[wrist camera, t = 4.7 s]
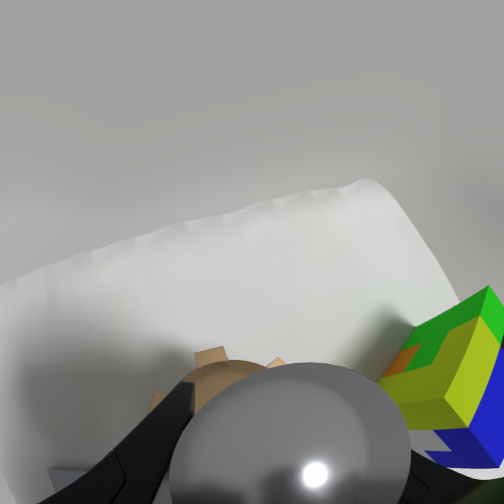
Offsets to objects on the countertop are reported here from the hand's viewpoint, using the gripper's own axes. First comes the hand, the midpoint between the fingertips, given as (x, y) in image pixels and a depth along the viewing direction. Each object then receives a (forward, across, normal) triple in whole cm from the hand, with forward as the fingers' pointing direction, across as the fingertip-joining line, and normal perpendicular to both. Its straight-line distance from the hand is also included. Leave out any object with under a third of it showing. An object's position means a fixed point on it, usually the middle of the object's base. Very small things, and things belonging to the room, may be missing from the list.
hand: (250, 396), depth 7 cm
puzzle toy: (+8, -18, +10) cm, 22 cm away
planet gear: (+4, 0, +6) cm, 7 cm away
